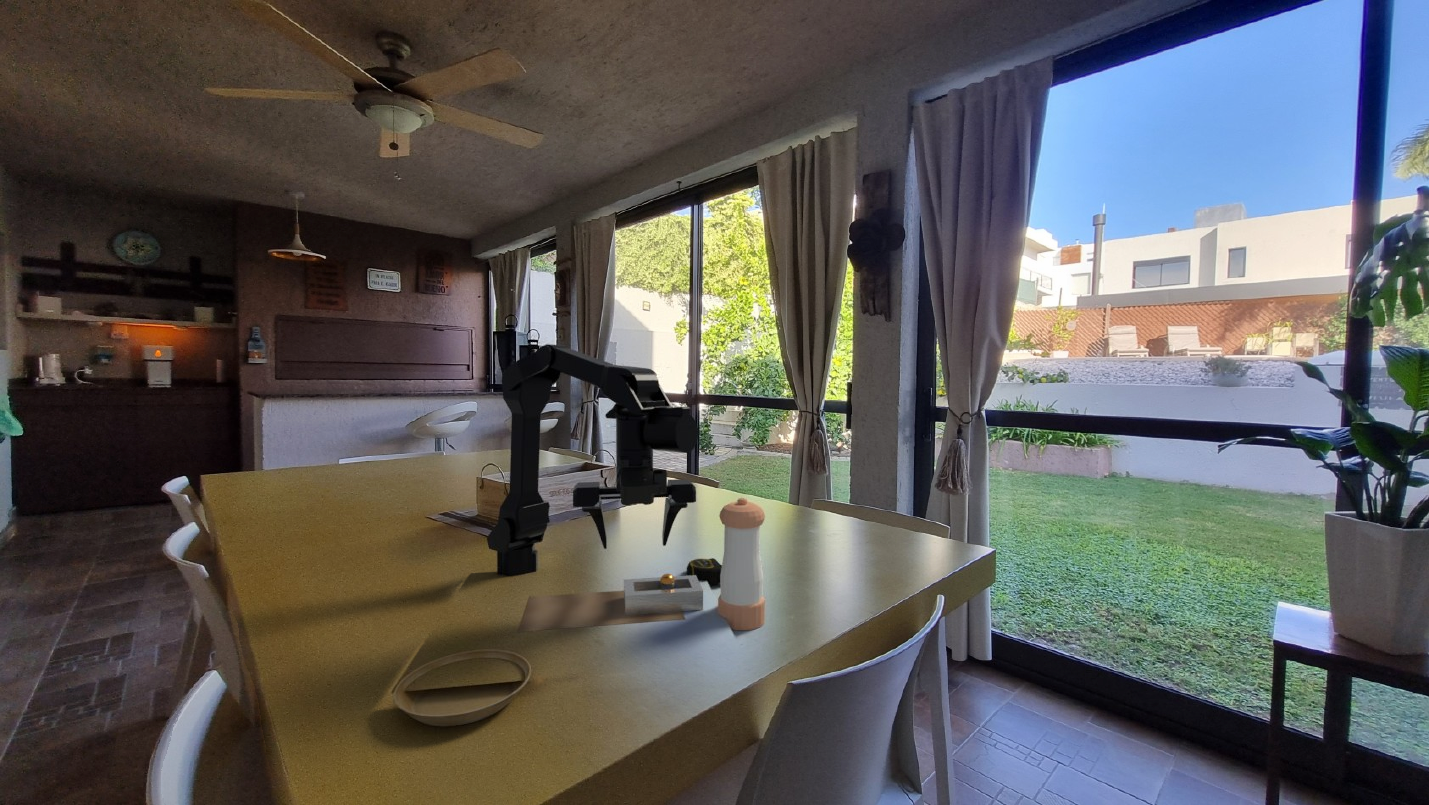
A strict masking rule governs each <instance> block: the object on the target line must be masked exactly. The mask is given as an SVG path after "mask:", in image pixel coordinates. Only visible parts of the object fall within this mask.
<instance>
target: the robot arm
mask: <svg viewBox="0 0 1429 805" xmlns="http://www.w3.org/2000/svg"><path fill="white" fill-rule="evenodd" d="M563 375H567V376H570V377H573V378H575V379H577V380H579V381H582V382H585V383H588V384H589V385H592V386H595V387H597V388H598V389H599V390H600V391H601V393H602V394H603V396H604V397H606V398H607V399H609V401H612V402H613V403H615V404H613V407H612V408H611V409H609V411H607V412H606V413H605V415H604V416H605V418H606V419H610V420H611V419H613V420H615V429H616V430H615V433H616V434H615V440H616V442H615V443H616V444H615V448H616V449H615V450H616V451H615V452H616V453H615V454H616V455H615V456H616V458H615V467H616V471H615V472H616V474H615V475H616V476H615V477H616V479H615V480H616V482H615V484H616V486H609V487H607V486H605V487H604V486H600V485H601V484H600V481H587V482H585V481H584V482H577V483H576V484H575V485H574V487H573V490H572V491H573V492H572V507H573V508H574V507H575V508H581V512H582V513H589V515H590V517H591V518H592V521H593V522H594V524H595V527H596V528H597V532H598V535H599V538H600V540H601V541H600V542H601V545H602V547H603V549H604V550H607V546H608V544H607V542H608V541H607V532H606V531H607V530H606V523H605V516H604V515H605V514H604V510H603V501H602V500H620V503H621V505H624V506H632V505H640V504H641V505H645V506H647V505H648V506H649V505H651V504H653V503H654V501H655V499H656V498H665V501H664V510H663V511H664V514H663V522H662V531H661V532H662V533H661V535H662V536H661V538H662V546H664V547H665V546H666V545H667V543H668V540H669V536H670V533H671V530H672V528H673V525H674V522H675V520H676V518H677V515H678V514H679V513H680V511H681V509H687V508H688V506H689V505H688V504H689V503H690V504H692V503H693V504H694V503H695V502H697V489H696V486H695V485H694V484H693V482H692V481H691V480H690V479H689V478H686V479H685V478H683V479H682V478H681V479H679V478H678V479H668V474H667V469H654V451H661V452H672V453H682V454H689V453H690V452H692V451H693V450H694V449H695V447H696V445H697V443H698V439H699V428H698V425H697V422H696V420H695V418H694V416H693V415H691V407H689V406H675V407H674V406H673V404H672V403H671V401H670V400H669V398H668V396H667V395H666V393H665V391H664V390H663V388H662V386H661V384H660V382H659V378H658V376H657V373H656V372H655V371H654V370H653V369H651V368H648V367H647V368H646V367H640V366H639V367H638V366H631V365H630V366H629V365H619V364H613V363H610V362H607V361H605V360H601V359H600V358H596V357H593V356H590V355H589V354H586V353H582V352H580V351H578V350H575V349H572V348H570V347H568V346H567V345H566V344H565V345H563V344H549V343H547V344H544V345H542V346H540V347H539V348H538V349H536V351H535V352H533V353H529V354H528V355H526V356H524V357H521V358H519V359H517V360H516V361H515V362H514V363H513V364H510V365H508V366H507V367H506V369H504V370H503V371H502V375H501V387H502V388H501V391H502V399H503V400H504V403H505V404H506V406H507V407H508V409H509V411H510V412H511V426H510V427H511V432H510V434H511V435H510V436H511V437H510V459H509V460H510V464H509V465H510V466H509V470H510V471H509V490H508V491H509V492H508V494H507V495H506V497H505V499H504V501H503V502H502V504H500V508H499V511H498V519H497V524H495V526H494V527H493V528H492V530H491V531H490V533H489V534H488V535H487V536H486V542H487V546H488V549H489V550H491V551H496V564H497V565H496V570H497V572H496V575H498V576H499V575H503V576H506V577H507V576H508V577H517V576H522V575H526V574H532V573H536V572H537V570H538V569H539V561H538V560H539V556H538V555H539V551H538V549H535V544H538V543H542V542H543V539H544V535H545V532H546V530H547V528H548V524H550V522H551V521H550V507H551V504H550V502H549V501H544V499H543V497H542V496H541V494H540V492H539V476H540V471H539V470H540V450H541V449H540V447H541V445H540V444H541V443H540V442H541V422H542V421H541V420H542V418H541V416H542V413H543V411H544V410H545V408H546V406H547V404H548V403H549V401H550V399H551V393H552V388H553V386H554V385H555V384H556V383H558V382H559V381H560V380H561V379H562V377H563Z"/></svg>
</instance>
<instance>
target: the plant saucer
mask: <svg viewBox="0 0 1429 805" xmlns="http://www.w3.org/2000/svg"><path fill="white" fill-rule="evenodd" d="M479 658H482V659H483V658H492V659H495V658H496V659H502V660H506V661H507V660H508V661H511V662H513V663H514V664H517V665H518V666H520V668H521V669H522V670H523V672H524V674H525V675H524V677H525V678H524V680H512V681H504V682H501V681H500V682H493V683H481V684H470V685H459V686H448V687H437V688H427V689H415V690H406V689H407V688H408V686H409V685H410V684H411V683H413V682H414V681H416V679H419V677H421V676H422V675H424V674H426V673H429V672H430V671H432V670H434V669H437V668H440V667H443V666H444V665H448V664H452V663H455V662H460V661H465V660H471V659H479ZM531 674H532V667H531V664H530V662H529V661H528V660H527V659H526V658H525V657H524V656H523V655H520V654H519V653H516V652H512V651H509V650H502V649H476V650H474V649H473V650H468V651H463V652H458V653H454V654H453V653H452V654H449V655H446V656H442V657H440V658H437V659H434V660H431V661H429V662H427V663H425V664H423V665H421V666H419V667H417V668H416V669H414V670H412V671H411V672H409V673H408V674H407V675H406V676H405V677H403V678H402V679H401V680H400V681H399V682H398V684H397V686H396V687H395V688H394V691H393V702H394V703H395V705H396V706H397V707H398V708H399V709H400V710H401V711H402V712H404V713H405V714H406V715H407V716H409V717H411V718H412V719H414V720H416V721H418V722H421V723H422V724H425V725H429V726H433V727H434V726H435V727H455V726H456V725H457V726H463V725H467V724H471V723H475V722H478V721H481V720H484V719H486V718H488V717H490V716H492V715H494V714H496V713H498V712H499V711H501V710H502V709H503V708H505V707H506V706H507V705H508V704H510V702H512V701H513V699H514V698H516V697H517V695H518V694H519V693H520V692H521V691H522V689H523V688H524V687H525V685H526V684H527V683H528V681H529V679H530V677H531Z"/></svg>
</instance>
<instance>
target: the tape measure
mask: <svg viewBox="0 0 1429 805" xmlns="http://www.w3.org/2000/svg"><path fill="white" fill-rule="evenodd" d="M721 568H722V563H719V562H718V561H717V559H716V558H714V557H713V558H712V557H711V558H695V559H693V560H690V561H689V562H688V564H687V566H686V576H689V575H696V576H697V579H698V581H701V582H702V581H703V582H704V581H706V582H707V584H708V586H710V587H711V586H713V585H718V584H720V574H721Z"/></svg>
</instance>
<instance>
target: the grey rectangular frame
mask: <svg viewBox="0 0 1429 805" xmlns="http://www.w3.org/2000/svg"><path fill="white" fill-rule="evenodd" d="M672 576H673V577H674V579H675V589H665V590H660V579H661V577H662V576H659V577H645V578H631V579H629V578H627V579H625V578H624V579H623V591H624V607H625V615H635V614H649V613H662V612H676V611H683V612H688V611H700V610H704V589H703V588H702V586H701V582H700V580H698V579H697V576H696V575H689V576H687V575H675V576H674V575H672Z"/></svg>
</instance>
